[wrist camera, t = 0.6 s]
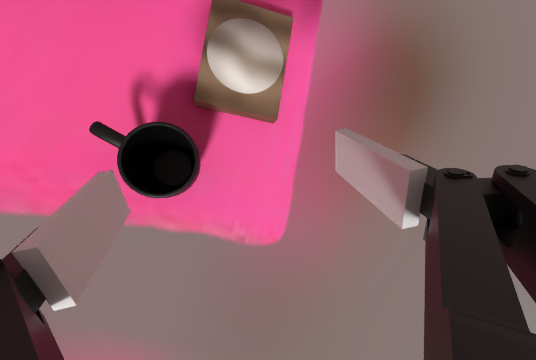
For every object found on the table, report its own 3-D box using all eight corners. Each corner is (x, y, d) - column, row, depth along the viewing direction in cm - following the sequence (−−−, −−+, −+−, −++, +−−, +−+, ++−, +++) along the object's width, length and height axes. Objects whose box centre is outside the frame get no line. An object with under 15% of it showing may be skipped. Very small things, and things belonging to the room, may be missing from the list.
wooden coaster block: (213, 5, 38) (213, -10, 36) (288, 28, 41) (293, 16, 38) (195, 106, 37) (193, 98, 34) (273, 123, 39) (277, 118, 37)
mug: (137, 114, 35) (110, 86, 26) (213, 158, 37) (213, 146, 28) (104, 164, 34) (62, 154, 25) (184, 207, 36) (173, 212, 27)
